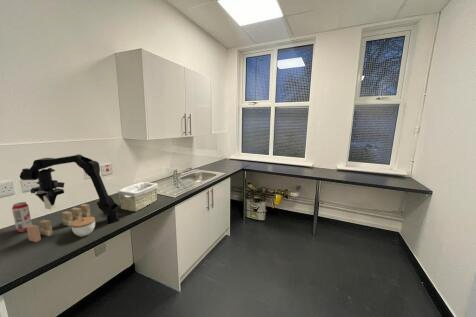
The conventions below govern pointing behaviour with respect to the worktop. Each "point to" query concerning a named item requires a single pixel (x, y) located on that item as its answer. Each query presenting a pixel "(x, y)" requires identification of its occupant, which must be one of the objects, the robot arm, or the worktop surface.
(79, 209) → the domino
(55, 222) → the worktop surface
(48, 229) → the domino
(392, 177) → the worktop surface
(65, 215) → the domino
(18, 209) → the beer can
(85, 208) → the domino
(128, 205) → the storage basket
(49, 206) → the domino
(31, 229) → the domino end
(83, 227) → the lidded jar
